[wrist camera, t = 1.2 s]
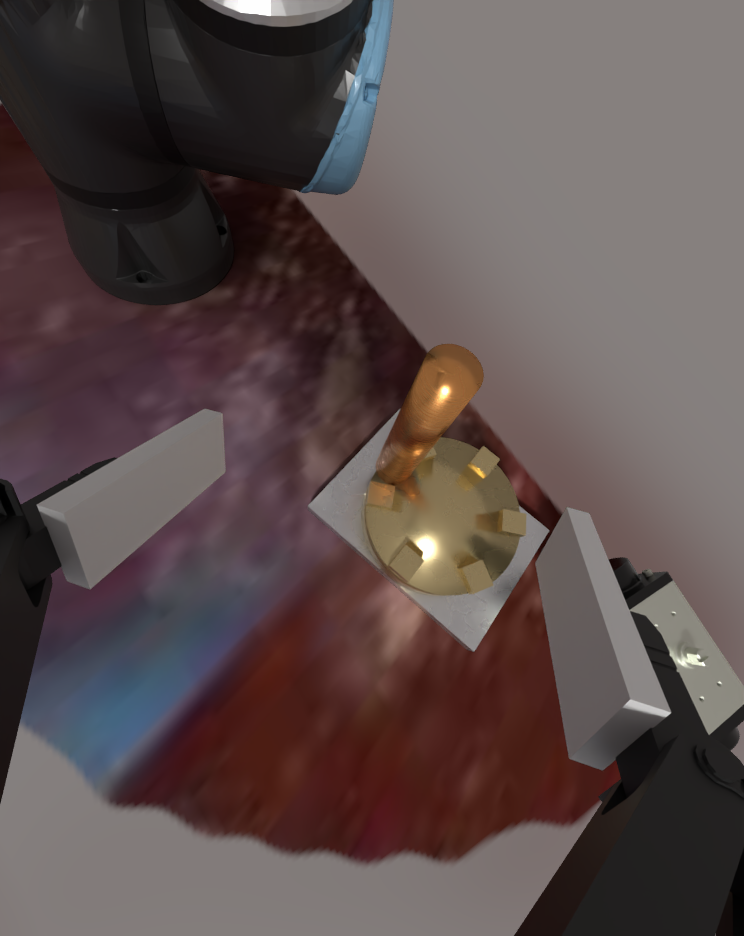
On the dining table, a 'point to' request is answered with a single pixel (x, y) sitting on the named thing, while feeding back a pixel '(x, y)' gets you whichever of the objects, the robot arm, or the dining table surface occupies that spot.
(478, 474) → the brass lugged disc
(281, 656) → the dining table surface
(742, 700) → the pneumatic valve
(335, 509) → the flange plate
